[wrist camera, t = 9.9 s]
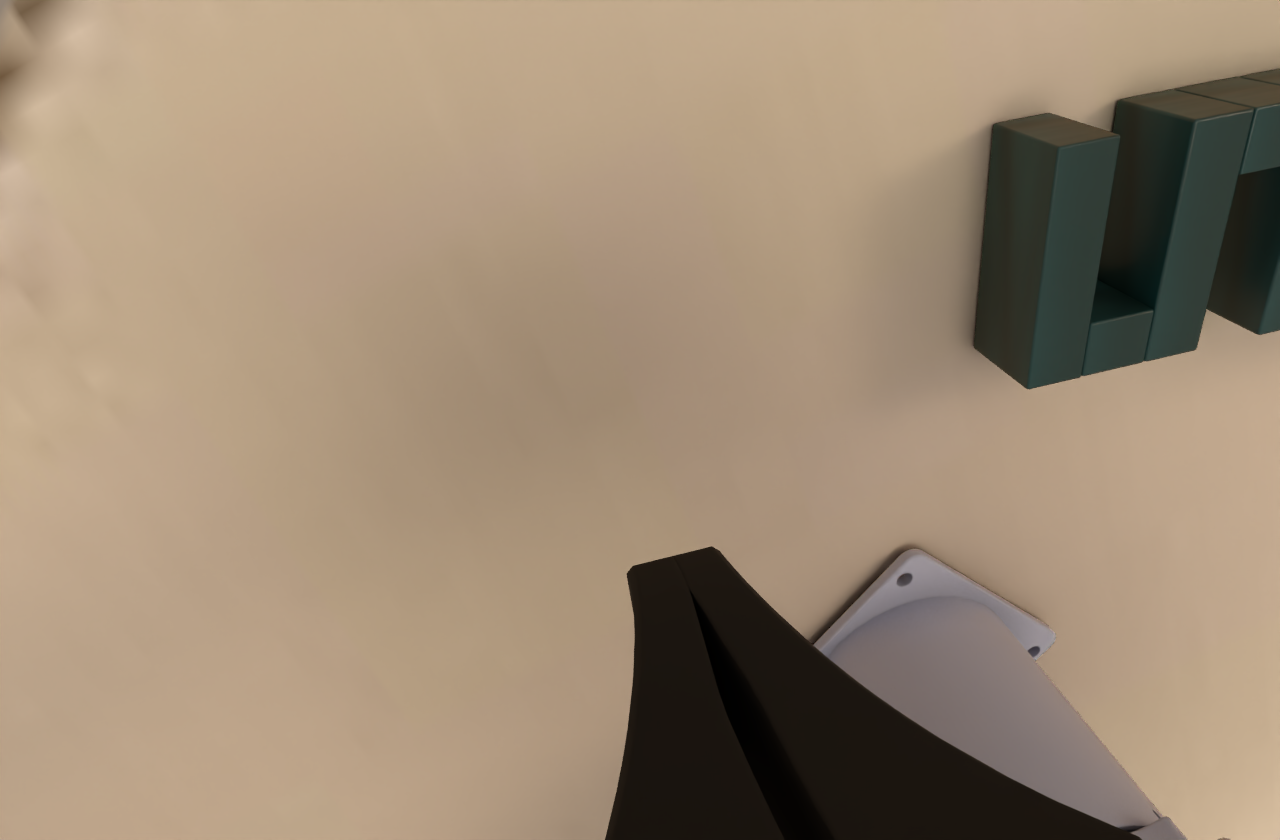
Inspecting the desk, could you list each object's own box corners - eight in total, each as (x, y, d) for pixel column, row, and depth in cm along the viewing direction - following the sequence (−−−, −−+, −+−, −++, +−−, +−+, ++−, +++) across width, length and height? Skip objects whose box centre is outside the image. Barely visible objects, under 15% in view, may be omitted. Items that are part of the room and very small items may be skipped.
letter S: (972, 348, 24) (1027, 390, 21) (992, 123, 20) (1058, 146, 18) (1232, 289, 24) (1309, 324, 22) (1290, 65, 21) (1384, 82, 19)
